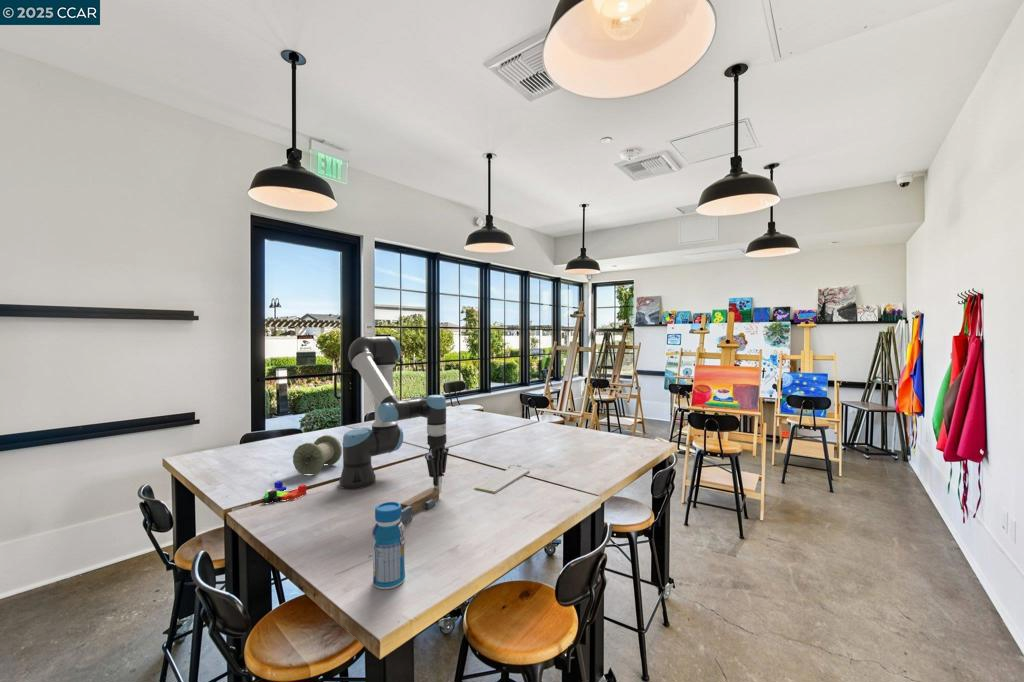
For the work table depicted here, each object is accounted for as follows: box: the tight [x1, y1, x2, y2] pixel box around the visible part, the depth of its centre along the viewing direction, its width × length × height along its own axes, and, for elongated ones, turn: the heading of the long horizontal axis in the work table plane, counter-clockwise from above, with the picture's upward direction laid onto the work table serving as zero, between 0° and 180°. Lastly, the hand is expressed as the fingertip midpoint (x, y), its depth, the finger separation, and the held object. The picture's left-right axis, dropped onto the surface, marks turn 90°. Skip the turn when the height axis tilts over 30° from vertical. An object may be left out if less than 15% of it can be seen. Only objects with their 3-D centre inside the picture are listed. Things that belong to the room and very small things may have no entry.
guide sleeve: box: [424, 499, 436, 511], centre depth 161 cm, size 8×4×2 cm, turn 63°
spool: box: [292, 434, 343, 475], centre depth 206 cm, size 16×15×15 cm
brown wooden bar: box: [399, 487, 440, 515], centre depth 161 cm, size 4×18×4 cm, turn 153°
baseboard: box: [473, 464, 530, 494], centre depth 190 cm, size 31×3×12 cm
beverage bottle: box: [371, 501, 406, 590], centre depth 112 cm, size 8×8×20 cm
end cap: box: [400, 506, 413, 525], centre depth 148 cm, size 8×8×4 cm
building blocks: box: [262, 480, 307, 504], centre depth 171 cm, size 15×13×4 cm
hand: (437, 492), depth 170 cm, fingers closed
